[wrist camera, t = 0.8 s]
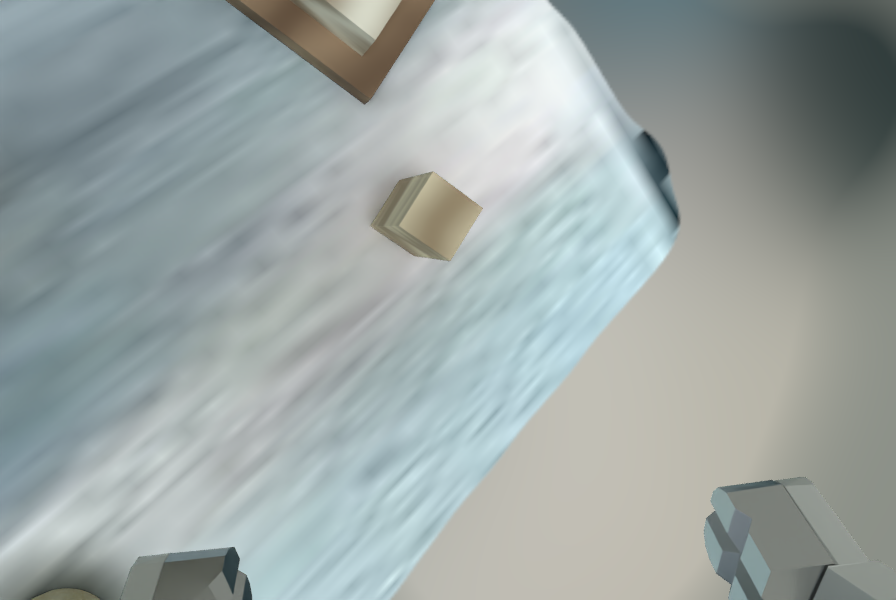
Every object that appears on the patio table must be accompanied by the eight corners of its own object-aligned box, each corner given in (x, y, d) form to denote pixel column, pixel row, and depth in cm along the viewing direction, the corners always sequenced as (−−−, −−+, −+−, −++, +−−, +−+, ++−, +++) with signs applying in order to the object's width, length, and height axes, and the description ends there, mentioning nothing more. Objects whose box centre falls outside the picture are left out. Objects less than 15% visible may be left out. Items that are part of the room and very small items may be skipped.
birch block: (370, 226, 47) (398, 225, 39) (399, 180, 47) (433, 171, 40) (414, 255, 48) (450, 261, 41) (442, 211, 49) (482, 208, 41)
